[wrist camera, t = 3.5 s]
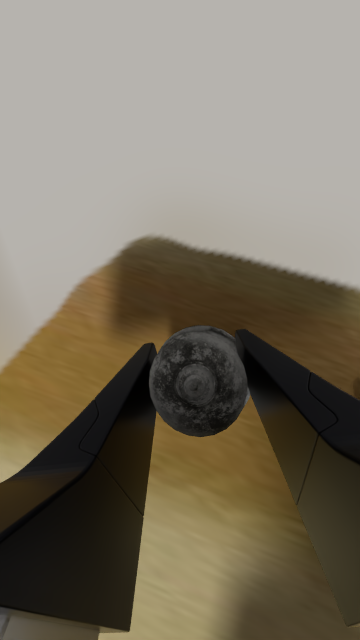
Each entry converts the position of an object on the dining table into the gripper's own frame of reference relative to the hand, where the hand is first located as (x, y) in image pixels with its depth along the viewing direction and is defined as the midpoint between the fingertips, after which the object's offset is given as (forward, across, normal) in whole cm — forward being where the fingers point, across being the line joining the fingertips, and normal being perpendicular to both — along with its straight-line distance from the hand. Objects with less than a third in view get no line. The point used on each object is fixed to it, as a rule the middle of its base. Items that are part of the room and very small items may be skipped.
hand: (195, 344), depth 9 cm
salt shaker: (+4, 0, +6) cm, 7 cm away
